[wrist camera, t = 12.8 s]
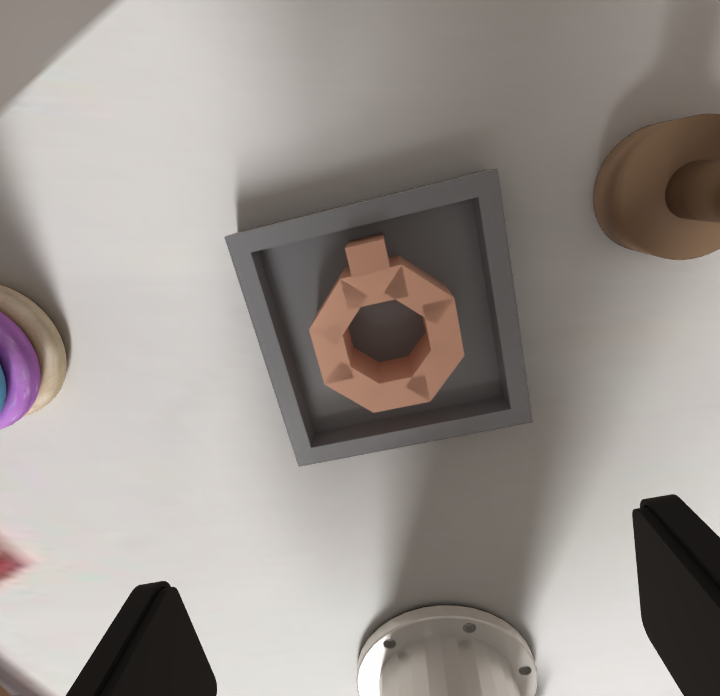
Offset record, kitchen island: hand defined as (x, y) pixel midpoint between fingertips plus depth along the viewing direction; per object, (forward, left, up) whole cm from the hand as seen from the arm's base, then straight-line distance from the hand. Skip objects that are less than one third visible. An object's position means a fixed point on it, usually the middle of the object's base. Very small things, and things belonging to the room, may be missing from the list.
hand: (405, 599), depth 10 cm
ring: (+1, 0, -17) cm, 17 cm away
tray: (+1, 0, -18) cm, 18 cm away
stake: (-4, -14, -18) cm, 23 cm away
